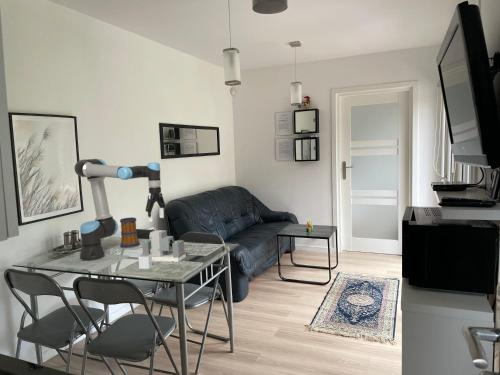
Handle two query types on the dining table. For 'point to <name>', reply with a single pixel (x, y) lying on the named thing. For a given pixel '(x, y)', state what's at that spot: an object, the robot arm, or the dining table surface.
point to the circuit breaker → (160, 243)
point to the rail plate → (175, 256)
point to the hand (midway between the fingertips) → (156, 219)
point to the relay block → (145, 261)
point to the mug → (128, 233)
